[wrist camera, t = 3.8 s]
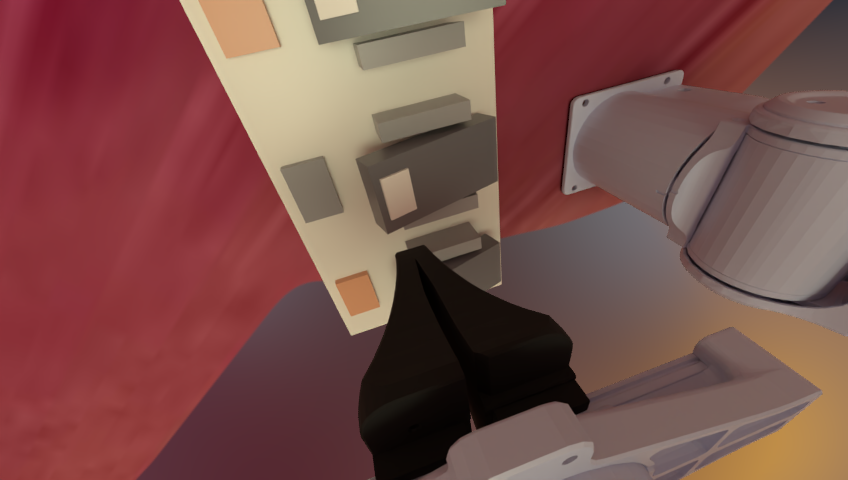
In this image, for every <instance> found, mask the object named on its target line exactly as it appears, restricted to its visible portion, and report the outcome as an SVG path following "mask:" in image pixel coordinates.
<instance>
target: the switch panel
mask: <svg viewBox="0 0 848 480" xmlns="http://www.w3.org/2000/svg"><path fill="white" fill-rule="evenodd" d="M180 2H181V4H182V6H183V8H184V10H185V12H186V14H187V16H188V18H189V20H190V22H191V24H192V26H193V28H194V30H195V32H196V34H197V35H198V37H199V39H200V41H201V43H202V45H203V47H204V49H205V51H206V53H207V55H208V57H209V59H210V61H211V63H212V65H213V67H214V69H215V71H216V73H217V75H218V76H219V78H220V80H221V82H222V84H223V86H224V88H225V90H226V92H227V94H228V96H229V98H230V100H231V102H232V104H233V106H234V108H235V110H236V112H237V114H238V116H239V117H240V119H241V121H242V123H243V125H244V127H245V129H246V131H247V133H248V135H249V137H250V139H251V141H252V143H253V145H254V147H255V149H256V151H257V153H258V155H259V157H260V158H261V160H262V162H263V164H264V166H265V168H266V170H267V172H268V174H269V176H270V178H271V180H272V182H273V184H274V186H275V188H276V190H277V192H278V194H279V196H280V198H281V199H282V201H283V203H284V205H285V207H286V209H287V211H288V213H289V215H290V217H291V219H292V221H293V223H294V225H295V227H296V229H297V231H298V233H299V235H300V237H301V239H302V241H303V242H304V244H305V246H306V248H307V250H308V252H309V254H310V256H311V258H312V260H313V262H314V264H315V266H316V268H317V270H318V272H319V274H320V276H321V278H322V280H323V282H324V283H325V285H326V287H327V289H328V291H329V293H330V295H331V297H332V299H333V301H334V303H335V305H336V307H337V309H338V311H339V313H340V314H341V317H342V319H343V320H344V323H345V324H346V326H347V328H348V330H349V332H350V334H351V335H354V334H357V333H360V332H363V331H366V330H369V329H372V328H375V327H377V326H381V325H384V324H387V323H388V319H389V316H390V312H391V308H392V303H393V298H394V292H395V285H396V284H395V283H396V258H395V254H396V253H397V252H400V251H404V250H407V249H410V248H414V247H417V246H421V245H425V246H426V247H427V248H428V249H429V250H430V251H431V252H432V253H433V254H434V255H435V256H436V257H437V258H439V259H440V260H441V261H444V260H447V259H450V258H453V257H456V256H459V255H463V254H466V253H469V252H472V251H475V250H478V249H481V248H482V245H481V237H480V236H481V235H483V234H485V233H486V234H487V235H489V236H490V237H492V238H493V239H495V240H497V241H498V242H500V219H499V188H498V181H497V182H495V183H493V184H491V185H489V186H487V187H484V188H482V189H480V190H478V191H476V192H474V193H472V194H470V195H468V196H466V197H464V198H462V199H460V200H458V201H456V202H454V203H452V204H450V205H448V206H445V207H443V208H441V209H439V210H437V211H435V212H433V213H431V214H429V215H427V216H425V217H423V218H421V219H419V220H417V221H415V222H413V223H411V224H408V225H406V226H404V227H402V228H400V229H398V230H396V231H394V232H392V233H390V234H387V233H386V232H385V231H384V230H383V229H382V228H380V227H379V226H378V225H377V224H376V222H375V219H374V215H373V212H372V209H371V206H370V203H369V200H368V197H367V194H366V190H365V187H364V184H363V181H362V178H361V175H360V172H359V169H358V165H357V162H356V158H359V157H362V156H364V155H367V154H369V153H372V152H375V151H377V150H380V149H383V148H385V147H388V146H391V145H393V144H396V143H399V142H401V141H404V140H407V139H409V138H412V137H414V136H417V135H420V134H422V133H425V132H428V131H430V130H434V129H438V128H442V127H445V126H449V125H453V124H457V123H460V122H464V121H468V120H472V117H471V115H473V114H475V113H481V114H485V115H490V116H495V117H496V94H495V63H494V31H493V8H489V9H484V10H479V11H475V12H470V13H465V14H461V15H456V16H451V17H447V18H442V19H438V20H433V21H428V22H424V23H419V24H414V25H410V26H405V27H400V28H396V29H391V30H386V31H382V32H377V33H372V34H368V35H363V36H359V37H354V38H349V39H345V40H340V41H335V42H331V43H326V44H321V45H319V44H318V41H317V38H316V35H315V32H314V29H313V26H312V23H311V19H310V16H309V13H308V10H307V7H306V4H305V1H304V0H180ZM496 141H497V125H496ZM497 171H498V157H497ZM500 262H501V253H500ZM501 283H502V282H499V283H498V284H496V285H495V286H498V285H501ZM495 286H493V287H495ZM491 288H492V287H491Z"/></svg>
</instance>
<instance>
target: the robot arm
mask: <svg viewBox="0 0 848 480" xmlns="http://www.w3.org/2000/svg"><path fill="white" fill-rule="evenodd" d="M683 76H684V72H683V71H682V70H674V71H670V72H667V73H663V74H659V75H656V76H652V77H648V78H645V79H641V80H637V81H633V82H630V83H626V84H622V85H619V86H615V87H611V88H607V89H604V90H600V91H596V92H593V93H589V94H585V95H581V96H578V97H576V98H574V99H573V100H572V102H571V105H570V114H569V123H568V133H567V142H566V152H565V162H564V171H563V181H562V193H564V194H566V195H569V194H572V193H575V192H578V191H581V190H585V189H588V188H591V187H594V186H598V187H599V188H601V189H603V190H605V191H607V192H608V193H610V194H612V195H614V196H615V197H617V198H619V199H621V200H623V201H624V202H626V203H628V204H630V205H632V206H633V207H635V208H637V209H639V210H641V211H642V212H644V213H646V214H648V215H650V216H651V217H653V218H655V219H657V220H659V221H660V222H662V223H664V224H666V225H667V226H669V232H668V235H667V238H669V239H670V240H672V241H674V242H675V243H677V244H679V245H680V246H682V249H681V251H680V260H681V262H682V264H683V266H684V267H685V269H686V270H687V271H688V272H689V273H690V274H691V275H692V276H693V277H694V278H695V279H696V280H697V281H699V282H700V283H701V284H702V285H704V286H705V287H706V288H708V289H710V290H711V291H713V292H715V293H716V294H718V295H720V296H722V297H724V298H727V299H729V300H731V301H735V302H737V303H740V304H743V305H746V306H750V307H754V308H758V309H764V310H770V311H774V312H778V313H783V314H786V315H790V316H794V317H796V318H800V319H803V320H806V321H809V322H812V323H815V324H817V325H819V326H822V327H825V328H827V329H829V330H831V331H834V332H836V333H839V334H841V335H843V336H848V91H842V90H839V91H838V90H817V91H798V92H790V93H785V94H782V95H779V96H777V97H775V98H773V99H771V100H770V99H768V98H765V97H761V96H755V95H749V94H742V93H735V92H728V91H721V90H714V89H708V88H701V87H694V86H687V85H681V83H682V80H683ZM665 79H666V80H665ZM664 81H665V82H664ZM584 100H585V103H584V104H583V101H584ZM582 104H583V105H582ZM573 186H574V187H573ZM572 187H573V188H572ZM395 258H396V285H395V292H394V298H393V303H392V308H391V312H390V316H389V319H388V323H387V326H386V329H385V332H384V335H383V337H382V340H381V342H380V345H379V347H378V349H377V352H376V354H375V356H374V359H373V360H372V362H371V364H370V366H369V368H368V370H367V372H366V374H365V376H364V378H363V379H362V383H361V389H360V396H359V407H358V410H359V411H358V418H359V428H360V434H361V438H362V439H363V441H364V442H365V444H366V445H367V447H368V449H369V450H370V452H371V453H372V455H373V461H374V470H375V477H373V478H371V479H368V480H680V479H682V478H684V477H685V476H687V475H689V474H691V473H693V472H695V471H697V470H699V469H701V468H703V467H705V466H706V465H709V464H710V463H712V462H714V461H716V460H718V459H720V458H722V457H724V456H726V455H728V454H730V453H732V452H734V451H736V450H738V449H740V448H742V447H744V446H746V445H748V444H750V443H752V442H754V441H757V440H759V439H761V438H763V437H765V436H767V435H769V434H772V433H774V432H776V431H778V430H779V429H781V428H782V427H783V426H784V425H786V424H787V423H788V422H789V421H790V420H792V419H793V418H794V417H795V416H796V415H798V414H799V413H800V412H801V411H802V410H804V409H805V408H806V407H807V406H808V405H810V404H811V403H812V402H813V401H814V400H816V399H817V398H818V397H819V396H821V395H822V391H821V390H820V389H819V388H817V387H816V386H815V385H813V384H812V383H811V382H809V381H808V380H806V379H805V378H804V377H802V376H801V375H799V374H798V373H796V372H795V371H794V370H792V369H791V368H790V367H788V366H787V365H785V364H784V363H783V362H781V361H780V360H778V359H777V358H776V357H774V356H773V355H772V354H770V353H769V352H767V351H766V350H765V349H763V348H762V347H760V346H759V345H758V344H756V343H755V342H753V341H752V340H751V339H749V338H748V337H746V336H745V335H744V334H742V333H741V332H739V331H738V330H736V329H735V328H734V327H729V328H727V329H725V330H721V331H719V332H716V333H714V334H711V335H709V336H707V337H704V338H703V339H702V340H700V341H699V342H698V343H697V344H696V346H695V348H694V350H693V353H692V354H688V355H686V356H684V357H681V358H678V359H676V360H673V361H670V362H668V363H665V364H663V365H660V366H658V367H655V368H653V369H650V370H647V371H645V372H642V373H640V374H637V375H635V376H632V377H629V378H627V379H624V380H622V381H619V382H617V383H614V384H612V385H609V386H607V387H604V388H601V389H599V390H596V391H594V392H591V393H589V394H585V393H584V392H583V390H582V389H581V388H580V386H579V385H578V383H577V382H576V381H575V379H576V375H575V373H574V372H573V370H572V369H571V368H570V367H569V362H570V358H571V353H572V347H573V343H572V341H571V339H570V337H569V336H568V335H567V334H566V332H565V331H564V330H563V329H562V328H561V327H560V326H559V325H558V324H557V323H556V322H555V321H554V320H553V319H552V318H551V317H550V316H549V315H545V314H542V313H539V312H535V311H532V310H528V309H525V308H522V307H519V306H516V305H514V304H511V303H509V302H507V301H504V300H502V299H500V298H498V297H495V296H493V295H491V294H489V293H487V292H485V291H484V290H482V289H480V288H478V287H477V286H475V285H473V284H472V283H470V282H468V281H467V280H465V279H464V278H463V277H461V276H460V275H458V274H457V273H456V272H454V271H453V270H452V269H450V268H449V267H448V266H447V265H445V264H444V263H443V262H442V261H441V260H440V259H439V258H437V257H436V256H435V255H434V254H433V253H432V252H431V251H430V250H429V249H428V248H427V247H426V246H425V245H421V246H417V247H414V248H410V249H407V250H404V251H400V252H397V253H396V254H395ZM470 413H471V415H472V418H473V421H474V424H475V427H476V430H475V431H473V432H472V430H471V423H470V419H471V415H470Z"/></svg>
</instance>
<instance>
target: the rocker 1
mask: <svg viewBox="0 0 848 480" xmlns="http://www.w3.org/2000/svg"><path fill="white" fill-rule="evenodd" d="M304 1H305V4H306V7H307V10H308V13H309V16H310V19H311V23H312V26H313V29H314V32H315V35H316V38H317V41H318V44H319V45H321V44H326V43H331V42H335V41H340V40H345V39H349V38H354V37H359V36H363V35H368V34H372V33H377V32H382V31H386V30H391V29H396V28H400V27H405V26H410V25H414V24H419V23H424V22H428V21H433V20H438V19H442V18H447V17H451V16H456V15H461V14H465V13H470V12H475V11H479V10H484V9H489V8H493V7H498V6H503V5H506V0H304Z"/></svg>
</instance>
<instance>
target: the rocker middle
mask: <svg viewBox="0 0 848 480" xmlns="http://www.w3.org/2000/svg"><path fill="white" fill-rule="evenodd" d="M471 117H472V120H468V121H464V122H460V123H457V124H453V125H449V126H445V127H442V128H438V129H434V130H430V131H428V132H425V133H422V134H420V135H417V136H414V137H412V138H409V139H407V140H404V141H401V142H399V143H396V144H393V145H391V146H388V147H385V148H383V149H380V150H377V151H375V152H372V153H369V154H367V155H364V156H362V157H359V158H356V162H357V165H358V169H359V172H360V175H361V178H362V181H363V184H364V187H365V190H366V194H367V197H368V200H369V203H370V206H371V209H372V212H373V215H374V219H375V222H376V224H377V225H378V226H379V227H380V228H382V229H383V230H384V231H385V232H386V233H387V234H390V233H392V232H394V231H396V230H398V229H400V228H402V227H404V226H406V225H408V224H411V223H413V222H415V221H417V220H419V219H421V218H423V217H425V216H427V215H429V214H431V213H433V212H435V211H437V210H439V209H441V208H443V207H445V206H448V205H450V204H452V203H454V202H456V201H458V200H460V199H462V198H464V197H466V196H468V195H470V194H472V193H474V192H476V191H478V190H480V189H482V188H484V187H487V186H489V185H491V184H493V183H495V182H497V181H498V171H497V141H496V117H495V116H490V115H485V114H481V113H475V114H473V115H471Z"/></svg>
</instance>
